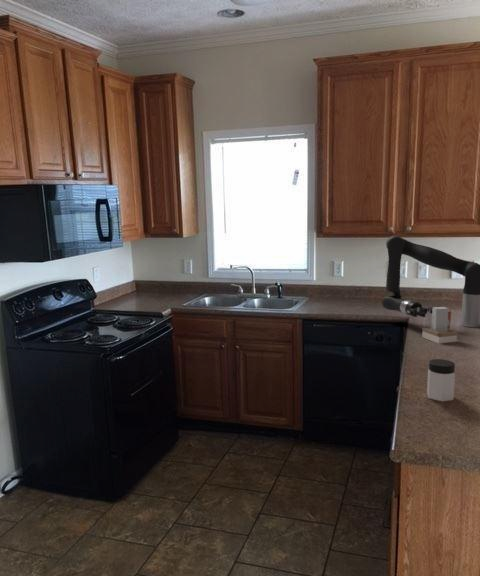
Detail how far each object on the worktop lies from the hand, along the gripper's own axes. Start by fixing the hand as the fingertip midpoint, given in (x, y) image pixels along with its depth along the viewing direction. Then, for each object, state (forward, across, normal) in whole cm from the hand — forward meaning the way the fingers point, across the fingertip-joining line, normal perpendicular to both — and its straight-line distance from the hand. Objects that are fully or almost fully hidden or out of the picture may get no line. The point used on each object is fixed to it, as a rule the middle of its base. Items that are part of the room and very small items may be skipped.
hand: (432, 314), depth 247 cm
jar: (+66, -50, +11) cm, 83 cm away
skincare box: (+6, 0, +8) cm, 10 cm away
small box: (-8, +12, +11) cm, 18 cm away
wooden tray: (+6, 0, +11) cm, 12 cm away
